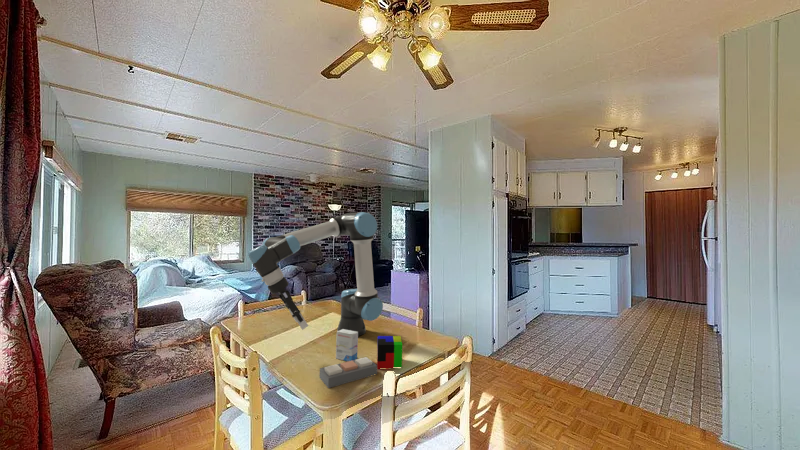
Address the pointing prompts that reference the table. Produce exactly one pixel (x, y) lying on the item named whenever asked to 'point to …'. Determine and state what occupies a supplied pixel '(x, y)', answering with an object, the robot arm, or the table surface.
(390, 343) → the puzzle toy
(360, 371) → the keypad
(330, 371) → the key
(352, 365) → the middle key
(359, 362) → the key
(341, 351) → the ink box
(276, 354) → the table surface
